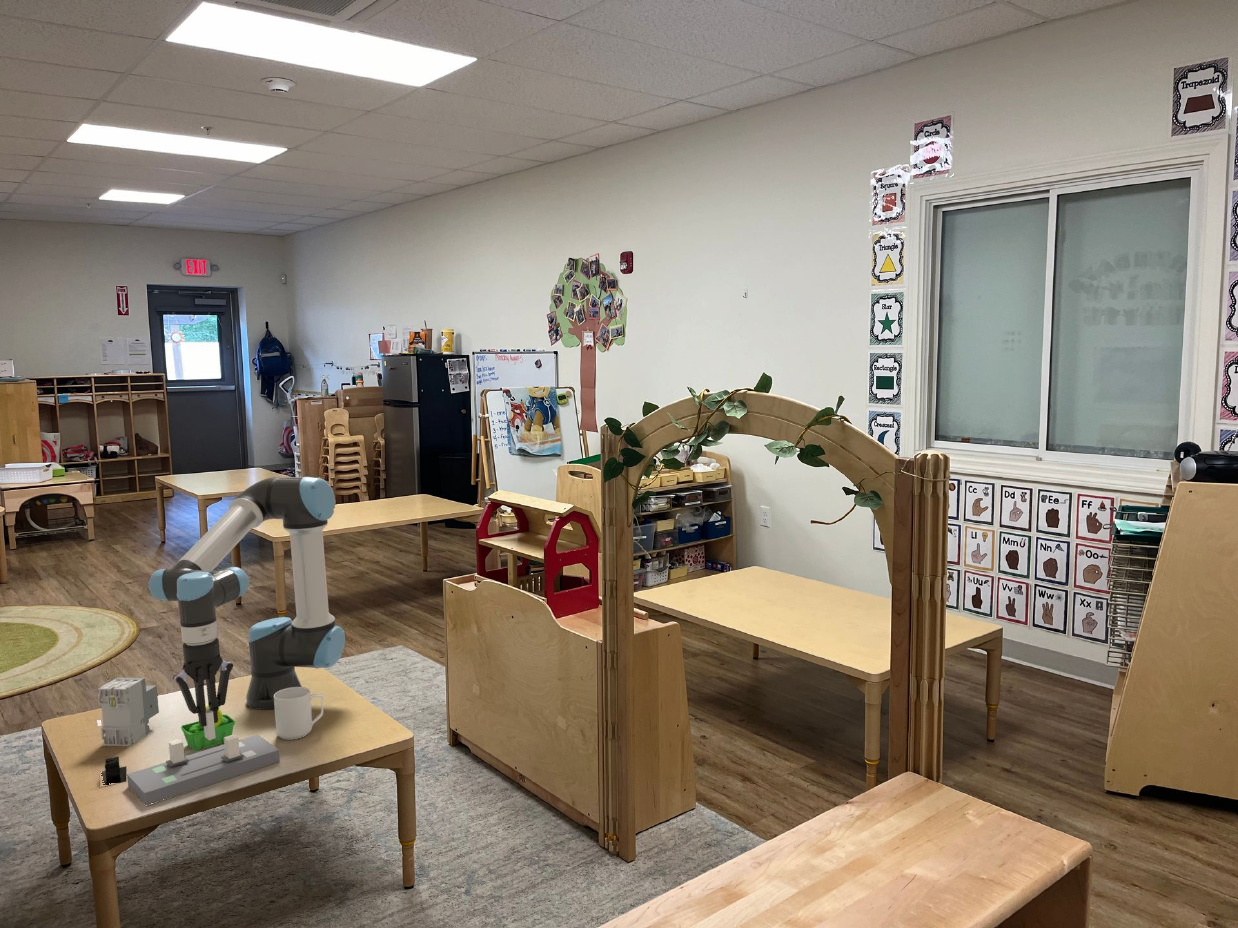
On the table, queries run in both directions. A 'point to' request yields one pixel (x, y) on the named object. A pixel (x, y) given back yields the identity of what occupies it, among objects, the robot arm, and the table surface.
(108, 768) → the black stepped block
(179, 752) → the breaker handle
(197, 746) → the fruit basket
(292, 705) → the mug
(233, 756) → the block
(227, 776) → the gray slotted slider panel
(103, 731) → the circuit breaker
